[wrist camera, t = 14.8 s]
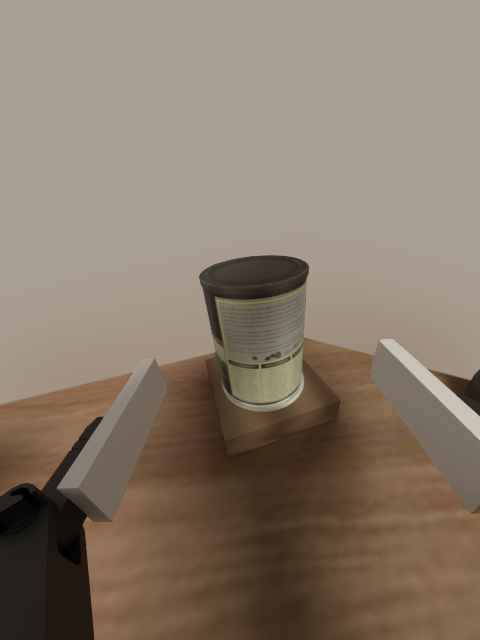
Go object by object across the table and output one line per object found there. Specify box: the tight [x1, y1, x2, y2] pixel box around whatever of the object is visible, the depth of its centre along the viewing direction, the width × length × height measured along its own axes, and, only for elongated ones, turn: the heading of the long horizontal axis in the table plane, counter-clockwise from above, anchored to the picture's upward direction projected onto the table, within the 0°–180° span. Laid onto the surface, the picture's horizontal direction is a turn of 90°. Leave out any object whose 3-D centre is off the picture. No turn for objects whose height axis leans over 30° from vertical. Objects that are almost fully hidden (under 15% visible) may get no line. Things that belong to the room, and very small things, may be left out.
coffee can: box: [199, 255, 309, 409], centre depth 23 cm, size 10×10×14 cm
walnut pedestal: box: [205, 357, 340, 459], centre depth 27 cm, size 13×13×3 cm
